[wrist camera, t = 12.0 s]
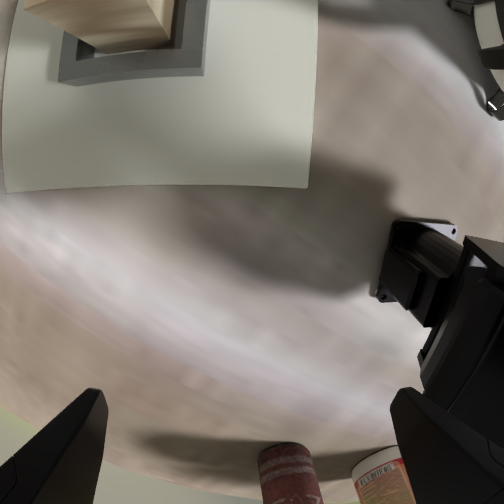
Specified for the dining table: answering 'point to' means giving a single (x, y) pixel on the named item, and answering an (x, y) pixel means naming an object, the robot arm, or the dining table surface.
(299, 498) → the can
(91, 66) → the square socket
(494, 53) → the coffee press
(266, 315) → the dining table surface
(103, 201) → the dining table surface
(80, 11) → the square peg
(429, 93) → the dining table surface
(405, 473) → the fruit juice
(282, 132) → the socket board
